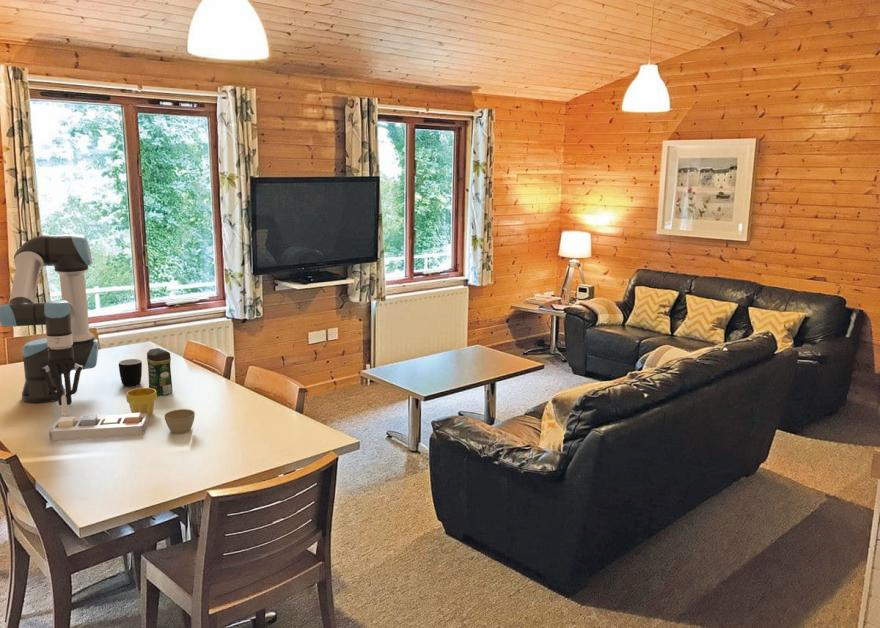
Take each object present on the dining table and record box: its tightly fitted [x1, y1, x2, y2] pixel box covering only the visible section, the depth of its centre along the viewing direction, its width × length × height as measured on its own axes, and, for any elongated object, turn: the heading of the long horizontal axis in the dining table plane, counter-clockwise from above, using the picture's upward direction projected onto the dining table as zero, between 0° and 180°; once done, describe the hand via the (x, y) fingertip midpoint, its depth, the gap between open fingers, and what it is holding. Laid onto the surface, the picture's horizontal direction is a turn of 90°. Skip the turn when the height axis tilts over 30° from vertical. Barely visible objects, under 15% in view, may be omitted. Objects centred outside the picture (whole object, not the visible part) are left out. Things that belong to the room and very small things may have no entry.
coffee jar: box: [146, 347, 174, 397], centre depth 289 cm, size 10×8×19 cm
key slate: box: [80, 414, 98, 426], centre depth 245 cm, size 4×4×2 cm
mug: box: [118, 358, 143, 388], centre depth 301 cm, size 12×9×10 cm
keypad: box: [48, 413, 149, 442], centre depth 246 cm, size 29×13×4 cm, turn 105°
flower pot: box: [163, 408, 196, 435], centre depth 248 cm, size 10×10×7 cm
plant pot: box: [125, 387, 158, 417], centre depth 263 cm, size 10×10×10 cm
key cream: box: [58, 416, 76, 428], centre depth 243 cm, size 4×4×2 cm
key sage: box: [103, 418, 120, 425], centre depth 247 cm, size 4×4×2 cm
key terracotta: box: [125, 412, 141, 423], centre depth 248 cm, size 4×4×2 cm
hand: (66, 414), depth 242 cm, fingers closed
